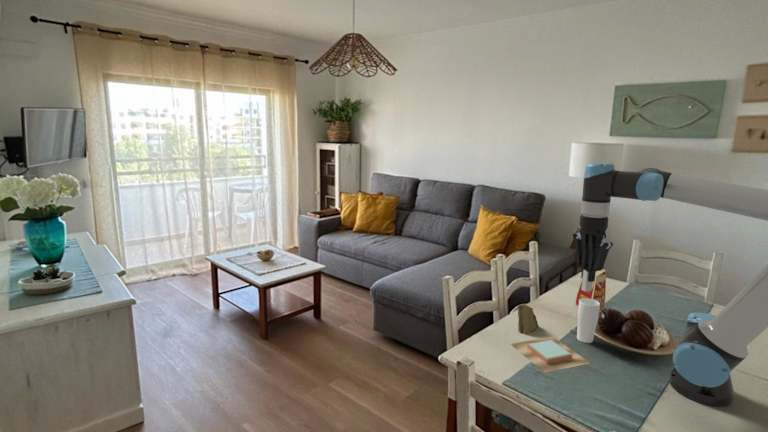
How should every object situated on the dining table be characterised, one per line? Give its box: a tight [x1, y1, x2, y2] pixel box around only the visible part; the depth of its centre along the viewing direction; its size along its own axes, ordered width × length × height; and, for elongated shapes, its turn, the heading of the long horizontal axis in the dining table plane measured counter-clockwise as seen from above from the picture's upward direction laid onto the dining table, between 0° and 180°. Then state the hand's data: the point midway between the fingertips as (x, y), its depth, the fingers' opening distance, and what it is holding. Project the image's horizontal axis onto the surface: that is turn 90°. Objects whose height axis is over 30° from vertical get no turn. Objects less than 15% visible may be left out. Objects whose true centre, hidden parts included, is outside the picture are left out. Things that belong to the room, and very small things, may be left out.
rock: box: [517, 304, 539, 335], centre depth 156 cm, size 11×9×10 cm
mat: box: [510, 336, 591, 374], centre depth 140 cm, size 18×18×1 cm
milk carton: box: [573, 268, 607, 313], centre depth 174 cm, size 9×9×20 cm
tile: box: [527, 340, 572, 364], centre depth 140 cm, size 2×10×10 cm
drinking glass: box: [576, 298, 600, 344], centre depth 148 cm, size 7×7×15 cm
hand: (586, 290), depth 128 cm, fingers closed
